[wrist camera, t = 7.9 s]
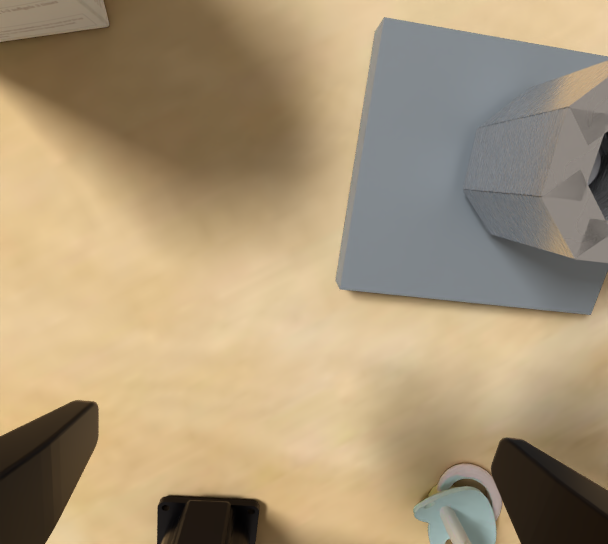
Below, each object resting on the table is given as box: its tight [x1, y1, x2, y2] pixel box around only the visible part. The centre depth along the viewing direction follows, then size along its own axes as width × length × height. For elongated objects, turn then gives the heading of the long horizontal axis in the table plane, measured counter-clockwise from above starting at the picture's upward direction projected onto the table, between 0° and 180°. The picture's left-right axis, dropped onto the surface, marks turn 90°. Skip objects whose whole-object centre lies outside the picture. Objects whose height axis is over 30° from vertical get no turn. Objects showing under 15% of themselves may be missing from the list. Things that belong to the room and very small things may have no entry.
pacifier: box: [413, 463, 502, 544], centre depth 21 cm, size 7×6×6 cm
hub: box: [463, 61, 608, 263], centre depth 13 cm, size 6×6×5 cm
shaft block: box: [336, 17, 608, 315], centre depth 16 cm, size 12×14×4 cm
